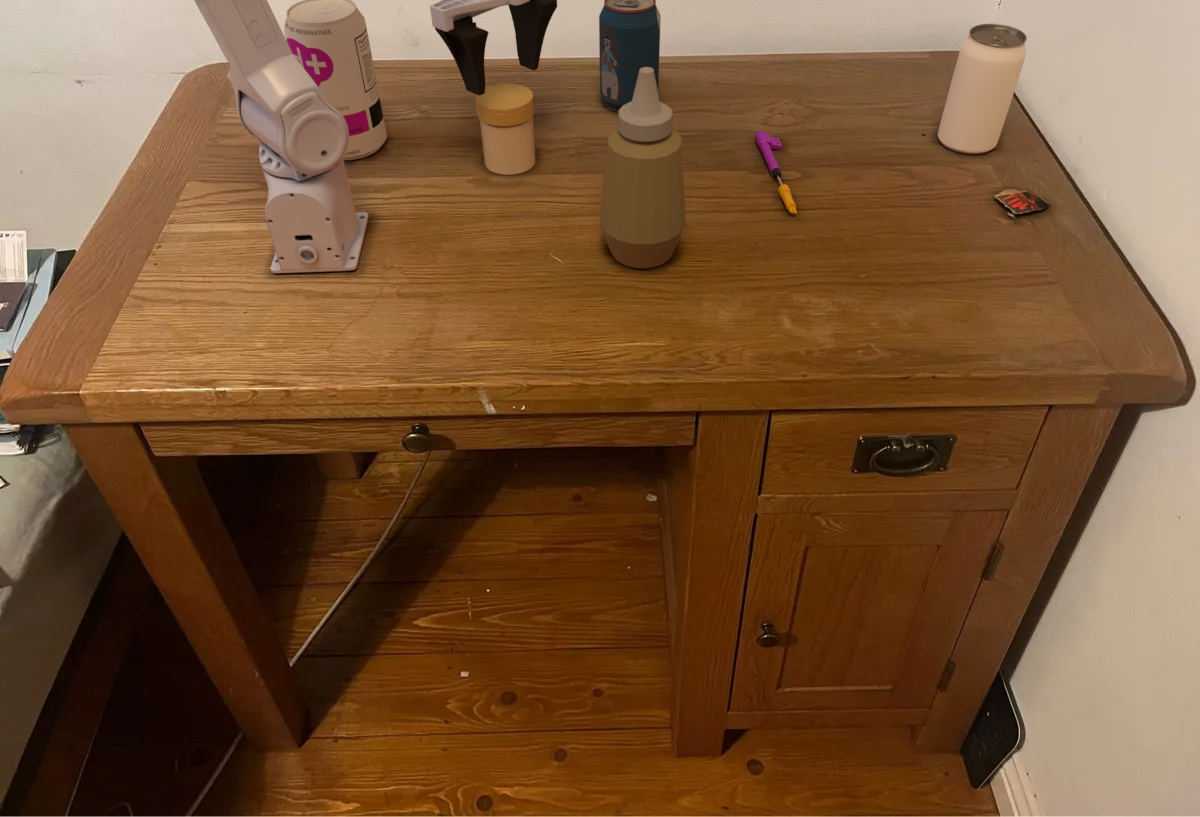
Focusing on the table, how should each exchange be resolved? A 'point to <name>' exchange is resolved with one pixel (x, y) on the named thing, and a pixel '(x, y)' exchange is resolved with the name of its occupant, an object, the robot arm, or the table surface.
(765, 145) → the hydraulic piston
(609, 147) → the squeeze bottle
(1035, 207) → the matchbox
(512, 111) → the lid
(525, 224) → the table surface
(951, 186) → the table surface
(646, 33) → the soda can
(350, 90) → the supplement can
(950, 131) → the can
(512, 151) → the jar
